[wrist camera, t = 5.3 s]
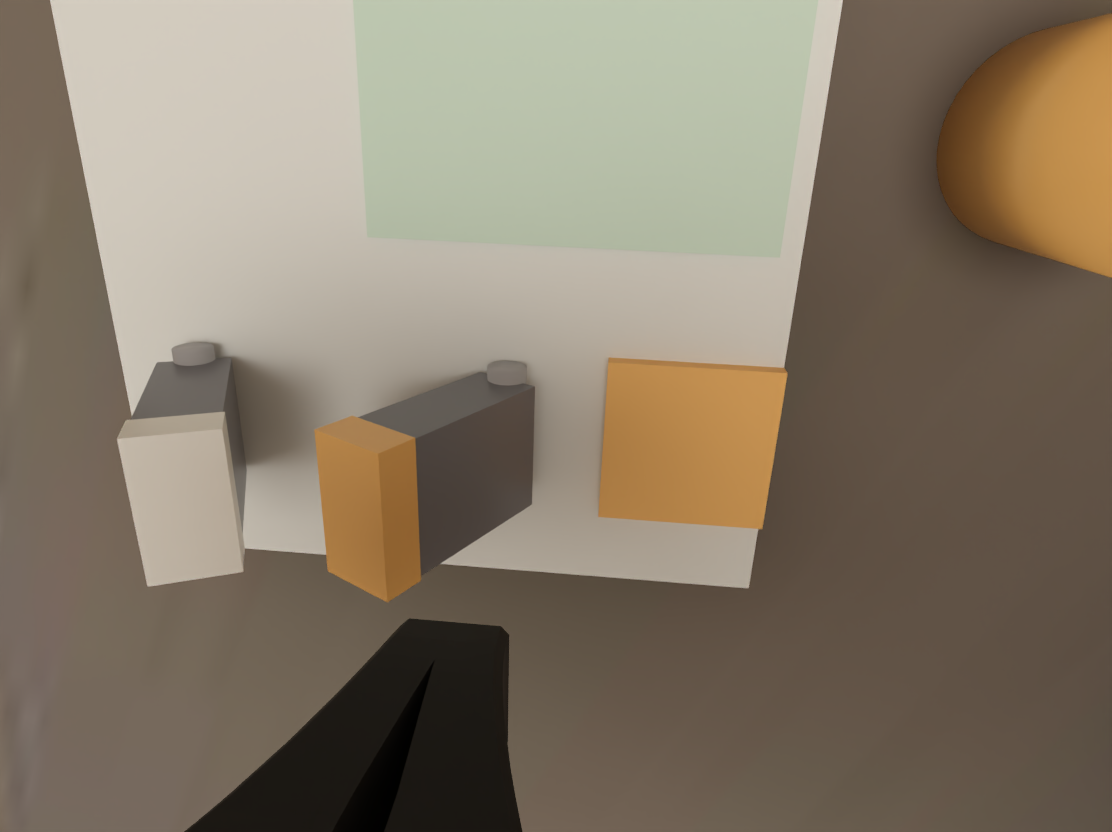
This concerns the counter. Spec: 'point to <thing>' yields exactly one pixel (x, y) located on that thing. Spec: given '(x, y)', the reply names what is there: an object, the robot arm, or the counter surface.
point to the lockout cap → (1037, 146)
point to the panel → (472, 239)
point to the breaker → (187, 468)
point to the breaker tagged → (425, 477)
